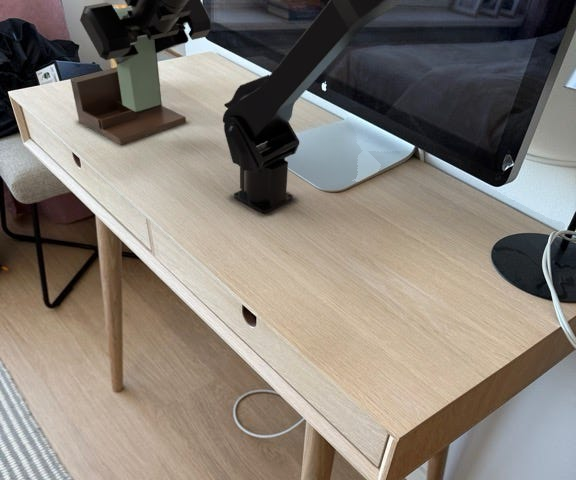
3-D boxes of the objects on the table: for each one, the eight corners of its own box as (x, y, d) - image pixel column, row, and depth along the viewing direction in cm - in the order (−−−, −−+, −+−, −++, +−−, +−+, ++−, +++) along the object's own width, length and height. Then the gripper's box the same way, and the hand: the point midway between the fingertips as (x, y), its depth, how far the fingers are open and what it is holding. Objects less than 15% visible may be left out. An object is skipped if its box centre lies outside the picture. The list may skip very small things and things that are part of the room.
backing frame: (186, 122, 101) (179, 33, 91) (119, 145, 93) (104, 51, 83) (144, 102, 106) (133, 15, 96) (78, 122, 99) (58, 30, 88)
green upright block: (161, 104, 91) (151, 10, 82) (135, 112, 89) (122, 16, 79) (148, 97, 93) (136, 5, 83) (122, 105, 90) (107, 10, 81)
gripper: (193, -82, 77) (153, -4, 90) (71, -71, 67) (45, 15, 80) (233, -1, 79) (188, 64, 92) (120, 21, 69) (88, 90, 82)
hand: (130, 57), depth 87 cm, fingers closed on green upright block, 5 cm apart
